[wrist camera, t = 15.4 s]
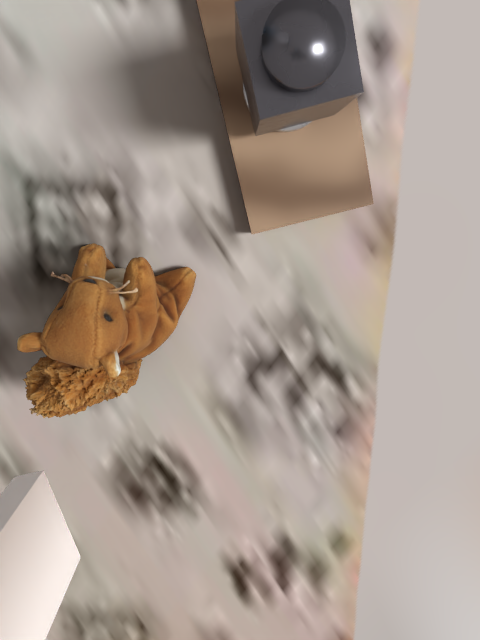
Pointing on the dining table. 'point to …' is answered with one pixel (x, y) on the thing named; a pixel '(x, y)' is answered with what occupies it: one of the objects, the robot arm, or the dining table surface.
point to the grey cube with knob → (296, 60)
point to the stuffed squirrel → (102, 331)
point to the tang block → (284, 145)
